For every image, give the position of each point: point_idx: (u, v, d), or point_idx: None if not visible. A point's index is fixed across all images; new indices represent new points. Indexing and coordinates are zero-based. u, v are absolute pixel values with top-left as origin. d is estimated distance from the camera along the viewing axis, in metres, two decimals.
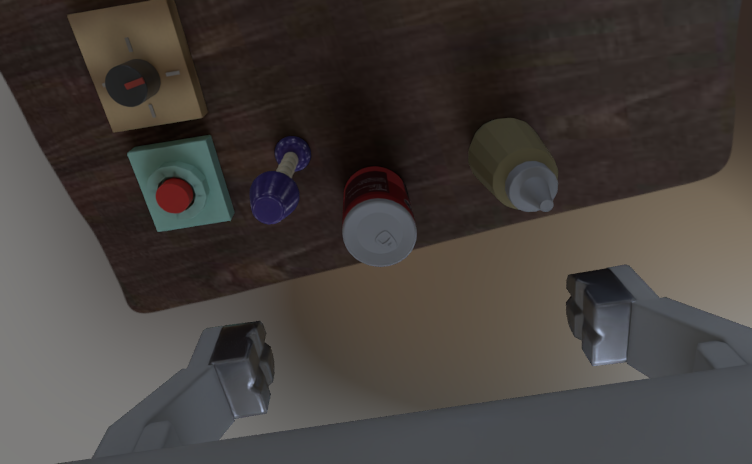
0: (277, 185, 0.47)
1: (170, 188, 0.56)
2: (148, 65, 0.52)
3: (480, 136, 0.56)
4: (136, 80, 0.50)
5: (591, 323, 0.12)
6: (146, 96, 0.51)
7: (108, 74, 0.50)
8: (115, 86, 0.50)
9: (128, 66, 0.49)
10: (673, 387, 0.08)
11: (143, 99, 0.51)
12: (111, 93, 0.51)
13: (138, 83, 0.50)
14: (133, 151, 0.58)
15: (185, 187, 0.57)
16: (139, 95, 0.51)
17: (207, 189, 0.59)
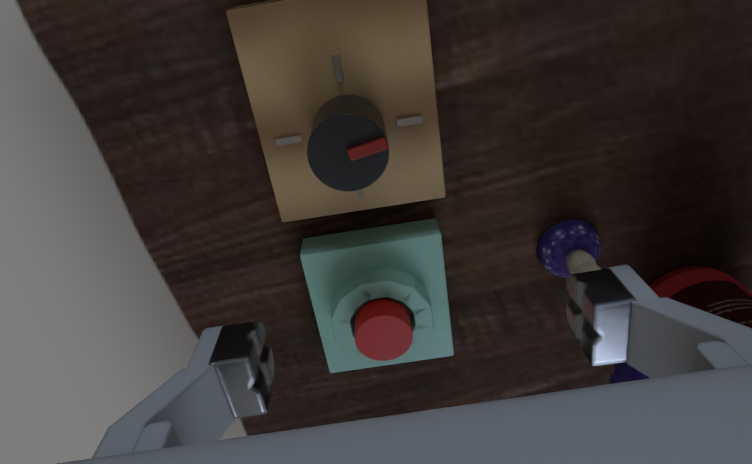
0: None
1: (384, 322, 0.31)
2: (373, 107, 0.27)
3: None
4: (373, 143, 0.25)
5: (591, 323, 0.12)
6: None
7: (317, 131, 0.25)
8: (327, 154, 0.25)
9: (361, 116, 0.24)
10: (673, 387, 0.08)
11: (376, 178, 0.26)
12: (317, 167, 0.25)
13: (376, 149, 0.25)
14: (309, 251, 0.33)
15: (407, 317, 0.32)
16: (371, 170, 0.26)
17: None
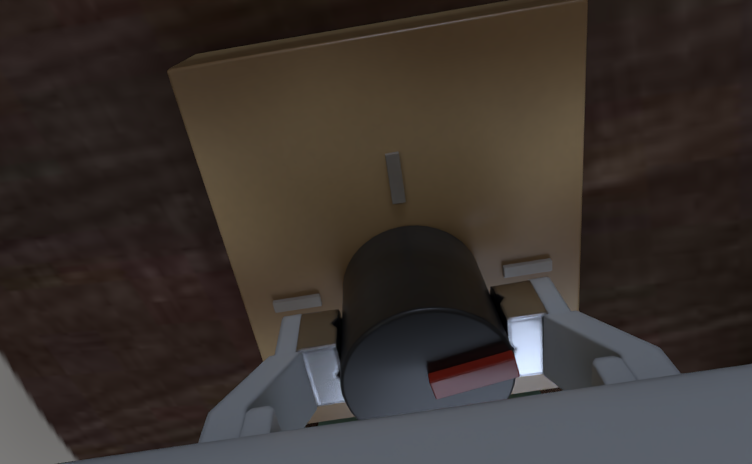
0: None
1: None
2: (466, 255, 0.14)
3: None
4: (488, 367, 0.11)
5: None
6: None
7: (365, 342, 0.11)
8: (384, 383, 0.12)
9: (464, 313, 0.11)
10: (673, 387, 0.08)
11: None
12: (360, 405, 0.12)
13: (492, 377, 0.11)
14: None
15: None
16: None
17: None
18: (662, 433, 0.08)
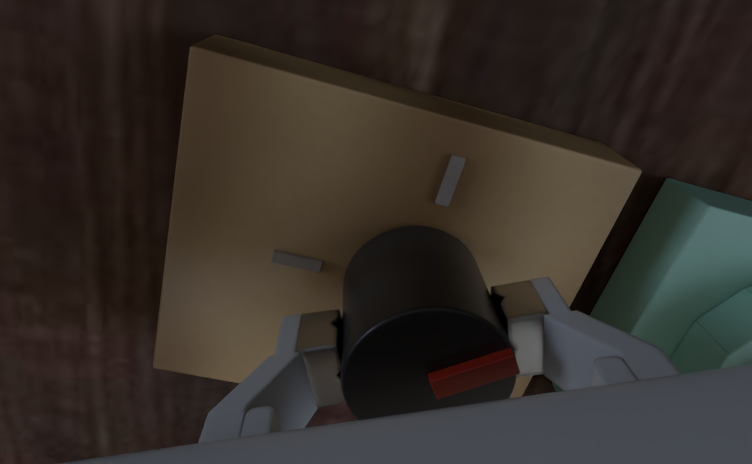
0: None
1: None
2: (465, 253, 0.14)
3: None
4: (488, 365, 0.11)
5: None
6: None
7: (364, 344, 0.11)
8: (385, 384, 0.12)
9: (462, 312, 0.11)
10: (673, 387, 0.08)
11: None
12: (362, 407, 0.12)
13: (493, 375, 0.11)
14: None
15: None
16: None
17: None
18: (662, 433, 0.08)
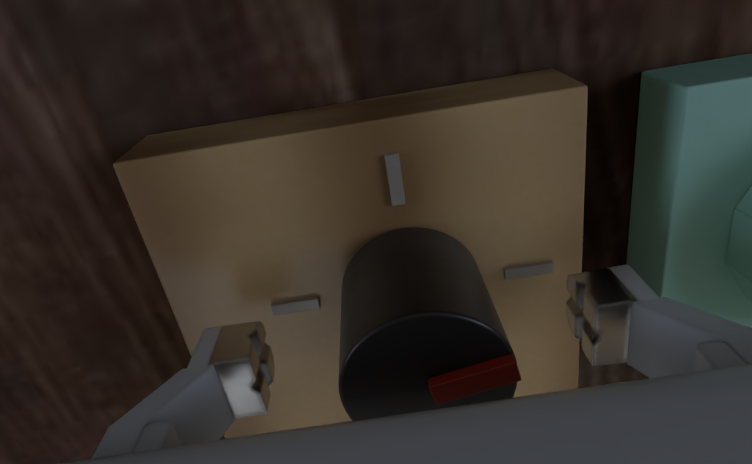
0: None
1: None
2: (466, 257, 0.14)
3: None
4: (489, 371, 0.11)
5: (591, 323, 0.12)
6: None
7: (363, 348, 0.11)
8: (383, 388, 0.11)
9: (463, 317, 0.11)
10: (673, 387, 0.08)
11: None
12: (360, 411, 0.12)
13: (494, 382, 0.11)
14: None
15: None
16: None
17: None
18: (662, 433, 0.08)
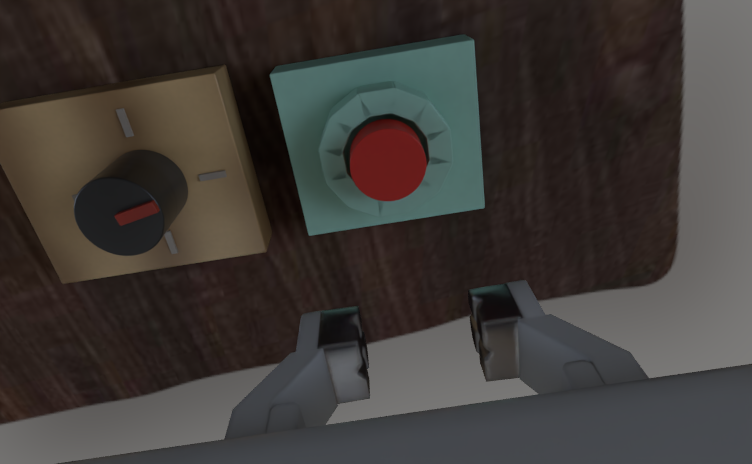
0: None
1: (362, 166, 0.24)
2: (164, 164, 0.26)
3: None
4: (140, 207, 0.23)
5: (481, 339, 0.12)
6: (162, 235, 0.24)
7: (80, 196, 0.23)
8: (96, 218, 0.24)
9: (124, 179, 0.23)
10: (673, 387, 0.08)
11: (156, 241, 0.24)
12: (88, 232, 0.24)
13: (144, 213, 0.23)
14: None
15: (365, 131, 0.24)
16: (147, 234, 0.24)
17: (383, 85, 0.25)
18: (662, 433, 0.08)
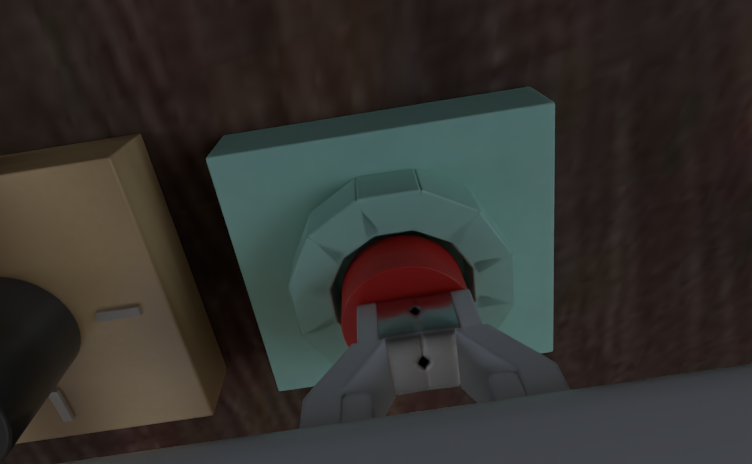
0: None
1: None
2: (30, 304, 0.15)
3: None
4: None
5: None
6: (11, 444, 0.14)
7: None
8: None
9: None
10: (673, 387, 0.08)
11: (0, 456, 0.14)
12: None
13: None
14: None
15: (368, 264, 0.14)
16: None
17: (400, 179, 0.14)
18: (662, 433, 0.08)
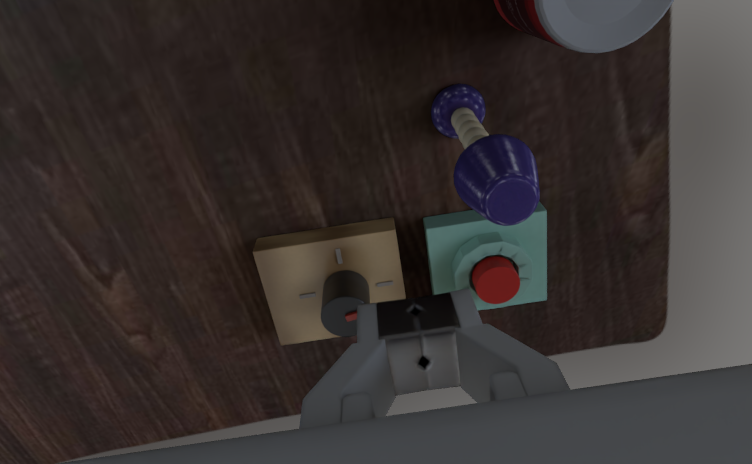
0: (472, 175, 0.27)
1: (483, 286, 0.42)
2: (361, 280, 0.43)
3: None
4: None
5: None
6: None
7: (327, 305, 0.41)
8: (333, 317, 0.41)
9: (353, 297, 0.41)
10: (673, 387, 0.08)
11: None
12: (326, 324, 0.42)
13: None
14: None
15: (485, 266, 0.42)
16: None
17: (494, 236, 0.42)
18: (662, 433, 0.08)
